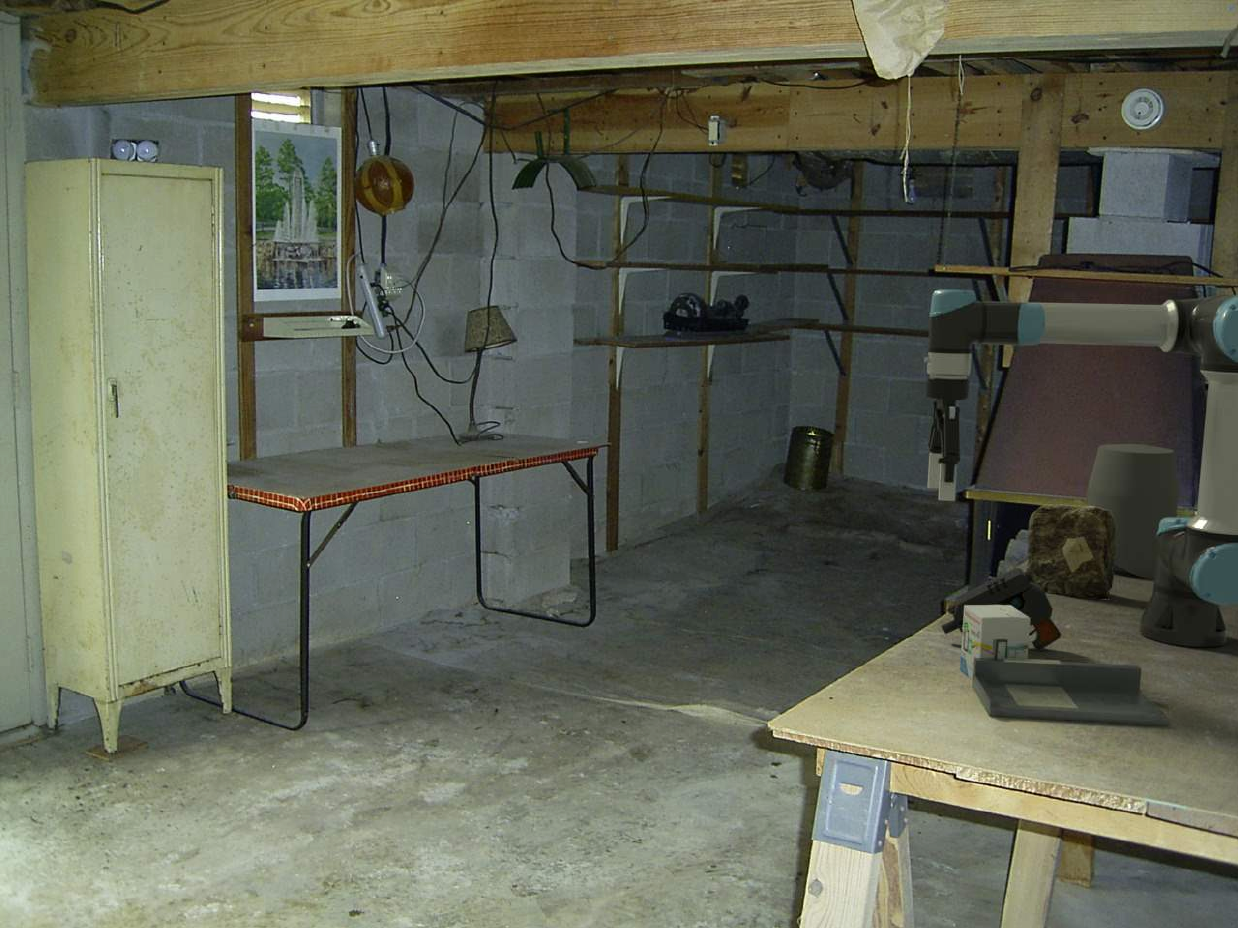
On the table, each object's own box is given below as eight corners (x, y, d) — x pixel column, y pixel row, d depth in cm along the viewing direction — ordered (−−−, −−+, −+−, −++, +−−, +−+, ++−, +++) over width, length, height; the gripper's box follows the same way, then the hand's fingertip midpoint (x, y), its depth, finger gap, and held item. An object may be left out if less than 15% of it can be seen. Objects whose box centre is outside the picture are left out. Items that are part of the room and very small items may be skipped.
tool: (1070, 640, 217) (1031, 566, 217) (970, 684, 222) (932, 612, 221) (1065, 631, 223) (1027, 559, 223) (968, 674, 228) (931, 604, 227)
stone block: (1112, 593, 266) (1119, 503, 263) (1112, 602, 258) (1119, 510, 255) (1024, 584, 273) (1031, 496, 270) (1021, 592, 264) (1028, 502, 262)
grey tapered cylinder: (1139, 558, 302) (1149, 439, 298) (1189, 577, 283) (1201, 450, 278) (1065, 560, 299) (1074, 439, 295) (1111, 579, 279) (1122, 450, 275)
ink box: (958, 669, 208) (963, 603, 207) (1006, 669, 209) (1011, 603, 208) (977, 685, 200) (982, 617, 198) (1027, 685, 201) (1032, 617, 199)
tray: (1135, 695, 197) (1138, 664, 196) (1166, 725, 183) (1169, 692, 182) (972, 687, 199) (974, 656, 198) (989, 716, 185) (991, 683, 185)
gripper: (917, 371, 229) (910, 482, 232) (936, 381, 205) (929, 504, 208) (957, 373, 228) (950, 484, 231) (982, 382, 204) (974, 506, 207)
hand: (940, 494), depth 220 cm, fingers open, 13 cm apart
